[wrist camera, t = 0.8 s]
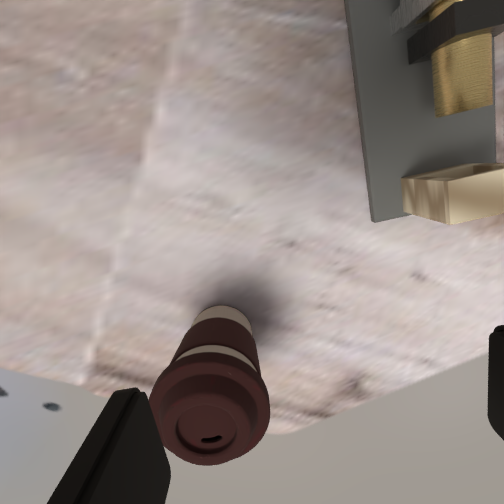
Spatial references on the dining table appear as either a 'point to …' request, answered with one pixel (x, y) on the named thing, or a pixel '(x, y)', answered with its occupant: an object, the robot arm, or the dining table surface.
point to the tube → (459, 52)
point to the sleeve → (411, 15)
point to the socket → (455, 193)
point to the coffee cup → (212, 391)
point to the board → (405, 111)
